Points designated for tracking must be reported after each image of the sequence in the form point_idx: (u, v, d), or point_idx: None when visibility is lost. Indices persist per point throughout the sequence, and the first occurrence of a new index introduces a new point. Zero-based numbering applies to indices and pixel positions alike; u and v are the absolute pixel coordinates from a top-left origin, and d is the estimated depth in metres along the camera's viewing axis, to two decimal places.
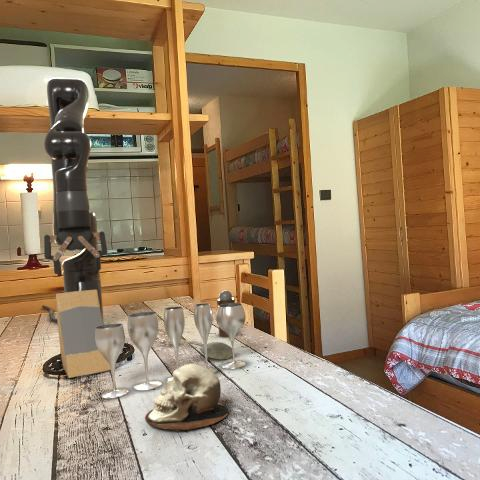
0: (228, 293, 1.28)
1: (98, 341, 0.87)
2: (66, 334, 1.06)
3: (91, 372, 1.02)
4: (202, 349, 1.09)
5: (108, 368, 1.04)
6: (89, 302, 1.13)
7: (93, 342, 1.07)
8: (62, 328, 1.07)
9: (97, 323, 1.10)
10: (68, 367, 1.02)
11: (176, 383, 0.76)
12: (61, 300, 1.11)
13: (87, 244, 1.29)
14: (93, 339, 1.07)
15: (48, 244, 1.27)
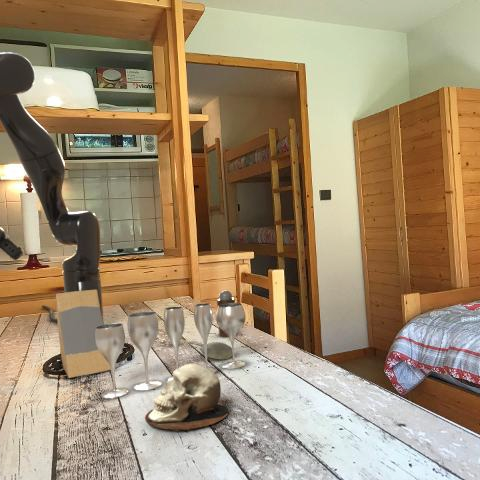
0: (228, 293, 1.28)
1: (98, 341, 0.87)
2: (66, 334, 1.06)
3: (91, 372, 1.02)
4: (202, 349, 1.09)
5: (108, 368, 1.04)
6: (89, 302, 1.13)
7: (93, 342, 1.07)
8: (62, 328, 1.07)
9: (97, 323, 1.10)
10: (68, 367, 1.02)
11: (176, 383, 0.76)
12: (61, 300, 1.11)
13: None
14: (93, 339, 1.07)
15: None
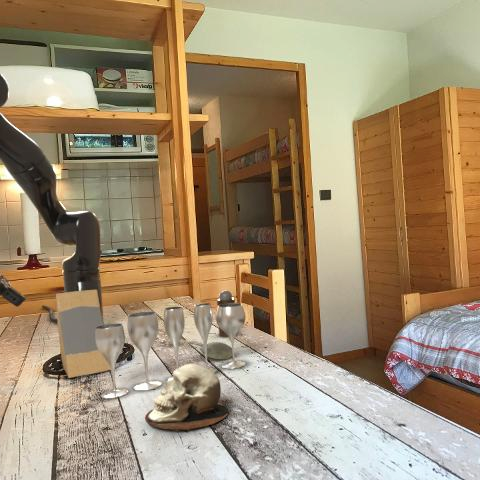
0: (228, 293, 1.28)
1: (98, 341, 0.87)
2: (66, 334, 1.06)
3: (91, 372, 1.02)
4: (202, 349, 1.09)
5: (108, 368, 1.04)
6: (89, 302, 1.13)
7: (93, 342, 1.07)
8: (62, 328, 1.07)
9: (97, 323, 1.10)
10: (68, 367, 1.02)
11: (176, 383, 0.76)
12: (61, 300, 1.11)
13: None
14: (93, 339, 1.07)
15: None
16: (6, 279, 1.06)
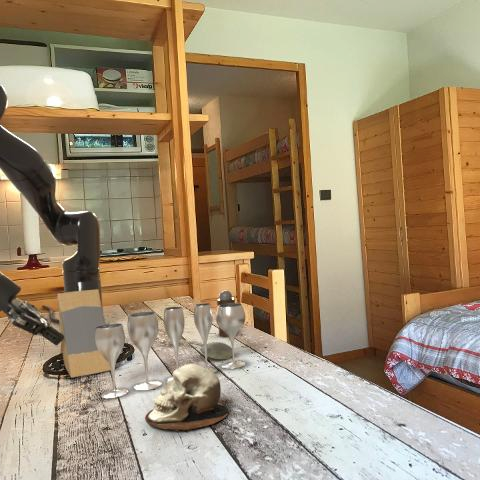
0: (228, 293, 1.28)
1: (98, 341, 0.87)
2: (68, 334, 1.06)
3: (93, 372, 1.02)
4: (202, 349, 1.09)
5: None
6: (91, 301, 1.13)
7: (95, 342, 1.07)
8: (64, 328, 1.07)
9: (99, 323, 1.10)
10: (70, 367, 1.02)
11: (176, 383, 0.76)
12: (63, 299, 1.12)
13: None
14: None
15: None
16: (45, 317, 1.08)
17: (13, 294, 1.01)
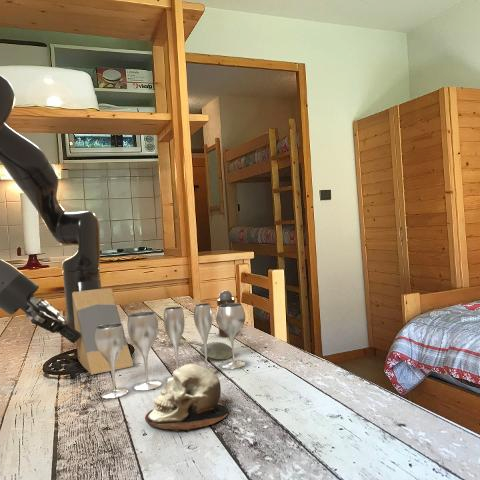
0: (228, 293, 1.28)
1: (98, 341, 0.87)
2: (86, 332, 1.07)
3: None
4: (202, 349, 1.09)
5: (129, 364, 1.06)
6: (106, 300, 1.15)
7: None
8: (81, 326, 1.08)
9: (115, 320, 1.12)
10: (90, 364, 1.03)
11: (176, 383, 0.76)
12: (78, 298, 1.12)
13: None
14: None
15: None
16: None
17: (31, 292, 1.02)
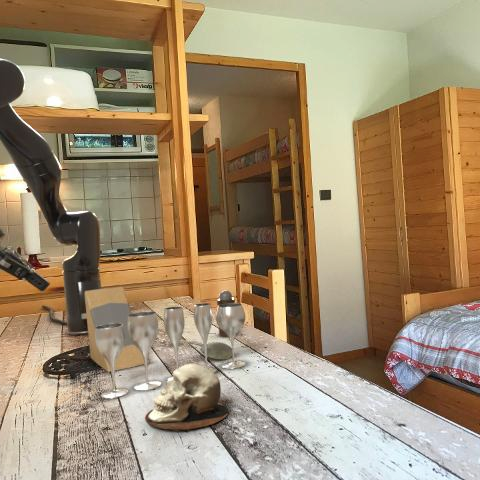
0: (228, 293, 1.28)
1: (98, 341, 0.87)
2: None
3: (129, 366, 1.05)
4: (202, 349, 1.09)
5: None
6: (118, 298, 1.16)
7: (127, 337, 1.10)
8: (95, 324, 1.09)
9: None
10: (106, 361, 1.04)
11: (176, 383, 0.76)
12: (91, 297, 1.13)
13: None
14: (127, 335, 1.10)
15: None
16: (30, 264, 1.07)
17: None
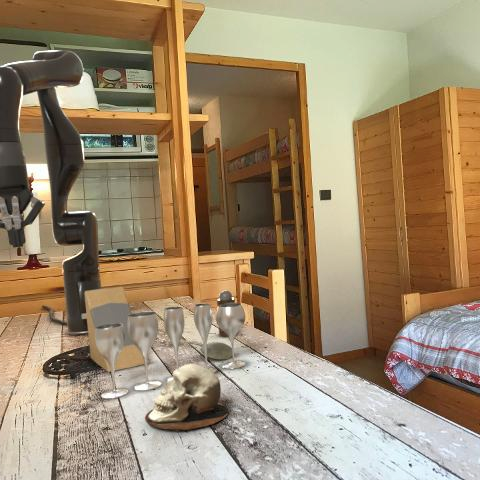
0: (228, 293, 1.28)
1: (98, 341, 0.87)
2: None
3: (129, 366, 1.05)
4: (202, 349, 1.09)
5: None
6: (118, 298, 1.16)
7: (127, 337, 1.10)
8: (95, 324, 1.09)
9: None
10: (106, 361, 1.04)
11: (176, 383, 0.76)
12: (91, 297, 1.13)
13: (16, 209, 1.08)
14: (127, 335, 1.10)
15: None
16: None
17: None
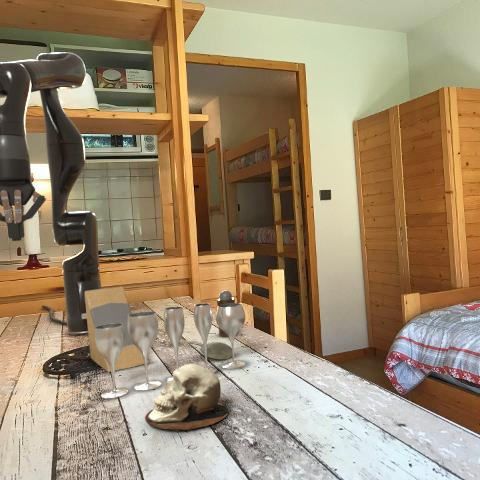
0: (228, 293, 1.28)
1: (98, 341, 0.87)
2: None
3: (129, 366, 1.05)
4: (202, 349, 1.09)
5: None
6: (118, 298, 1.16)
7: (127, 337, 1.10)
8: (95, 324, 1.09)
9: None
10: (106, 361, 1.04)
11: (176, 383, 0.76)
12: (91, 297, 1.13)
13: (18, 203, 1.09)
14: (127, 335, 1.10)
15: None
16: None
17: None
